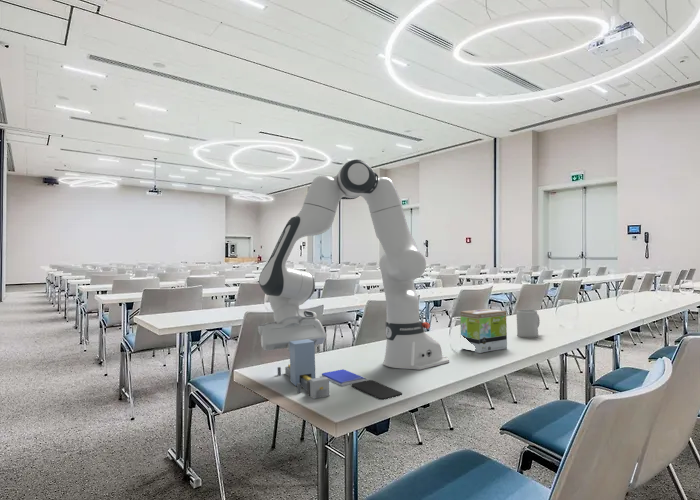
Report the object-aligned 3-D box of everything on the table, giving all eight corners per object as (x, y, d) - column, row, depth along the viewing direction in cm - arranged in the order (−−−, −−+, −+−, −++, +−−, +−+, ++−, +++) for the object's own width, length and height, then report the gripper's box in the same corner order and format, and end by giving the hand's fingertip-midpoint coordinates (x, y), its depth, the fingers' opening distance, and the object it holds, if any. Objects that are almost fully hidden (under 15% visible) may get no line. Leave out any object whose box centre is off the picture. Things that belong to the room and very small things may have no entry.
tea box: (480, 354, 150) (479, 313, 151) (460, 349, 159) (458, 311, 159) (508, 348, 158) (506, 309, 158) (487, 344, 166) (486, 307, 167)
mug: (529, 338, 176) (528, 312, 176) (513, 335, 184) (512, 310, 184) (547, 335, 182) (546, 310, 182) (530, 332, 189) (529, 308, 190)
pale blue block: (309, 378, 125) (308, 339, 125) (315, 382, 120) (314, 341, 120) (290, 381, 122) (289, 341, 122) (295, 385, 117) (294, 344, 118)
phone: (381, 398, 104) (349, 384, 116) (381, 402, 104) (349, 387, 116) (404, 393, 108) (371, 379, 120) (404, 396, 108) (371, 382, 120)
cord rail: (302, 370, 135) (302, 357, 135) (336, 394, 109) (335, 377, 109) (277, 374, 131) (276, 360, 131) (306, 399, 106) (305, 382, 106)
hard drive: (365, 377, 121) (344, 368, 132) (341, 382, 117) (321, 373, 127) (365, 382, 121) (344, 373, 132) (341, 387, 117) (321, 378, 127)
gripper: (258, 317, 127) (266, 355, 118) (320, 312, 135) (332, 347, 126) (255, 330, 131) (263, 367, 122) (316, 324, 139) (327, 359, 130)
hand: (299, 357), depth 124 cm, fingers closed, pressing on pale blue block
